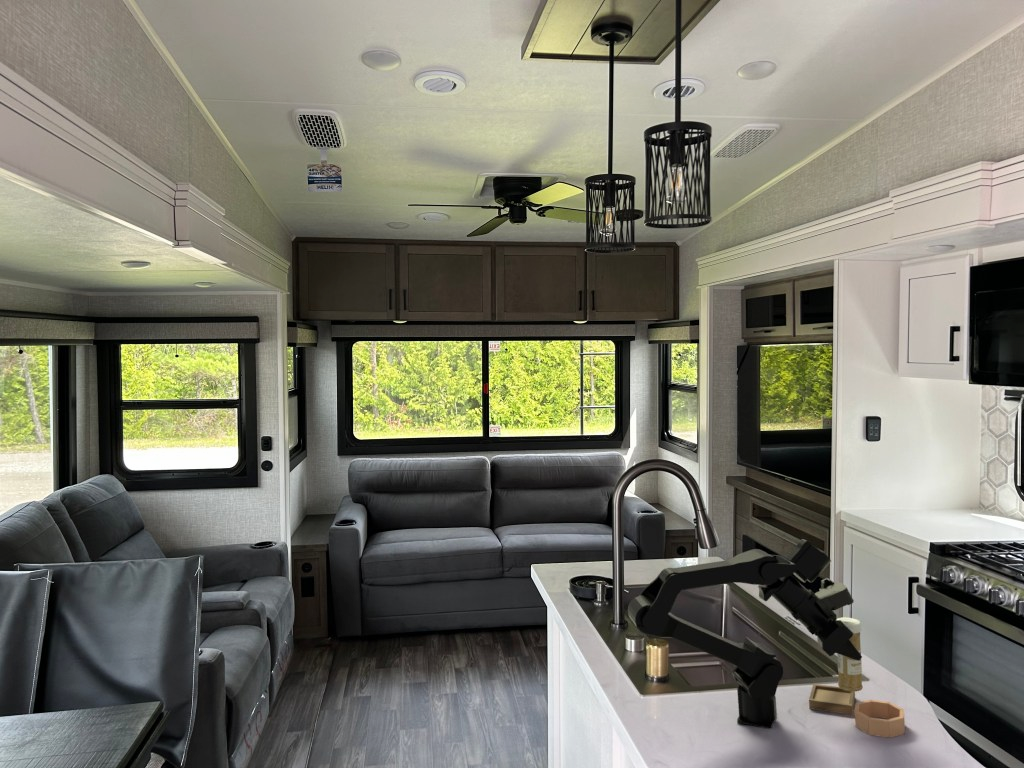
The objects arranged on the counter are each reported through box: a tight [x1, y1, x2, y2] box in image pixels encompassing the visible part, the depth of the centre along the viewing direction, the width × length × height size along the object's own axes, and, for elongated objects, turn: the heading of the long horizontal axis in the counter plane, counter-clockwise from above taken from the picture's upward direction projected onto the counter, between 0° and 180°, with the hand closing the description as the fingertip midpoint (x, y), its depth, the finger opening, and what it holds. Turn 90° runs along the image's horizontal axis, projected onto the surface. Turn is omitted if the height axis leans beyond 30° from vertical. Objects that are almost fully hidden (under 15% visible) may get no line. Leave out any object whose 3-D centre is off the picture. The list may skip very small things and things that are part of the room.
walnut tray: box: [808, 683, 856, 716], centre depth 153 cm, size 8×8×2 cm
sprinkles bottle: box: [836, 617, 863, 693], centre depth 148 cm, size 5×5×13 cm
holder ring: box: [854, 699, 906, 738], centre depth 143 cm, size 8×8×3 cm
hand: (856, 654), depth 148 cm, fingers closed on sprinkles bottle, 4 cm apart
